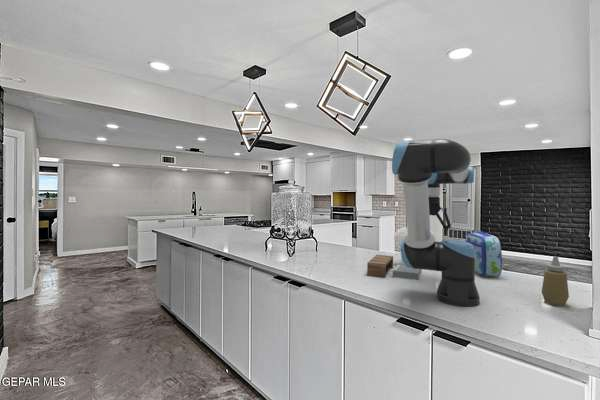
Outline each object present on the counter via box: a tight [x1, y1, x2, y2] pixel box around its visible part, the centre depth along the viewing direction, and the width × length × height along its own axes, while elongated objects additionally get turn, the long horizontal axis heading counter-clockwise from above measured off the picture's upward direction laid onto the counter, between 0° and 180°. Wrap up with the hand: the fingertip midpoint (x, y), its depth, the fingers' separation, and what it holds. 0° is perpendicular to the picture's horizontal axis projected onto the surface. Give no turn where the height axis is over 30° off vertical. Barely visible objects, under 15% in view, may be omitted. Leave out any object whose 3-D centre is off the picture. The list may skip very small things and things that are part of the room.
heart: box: [394, 226, 435, 252], centre depth 184 cm, size 28×16×22 cm, turn 131°
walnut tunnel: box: [366, 254, 394, 279], centre depth 167 cm, size 22×9×7 cm, turn 154°
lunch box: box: [465, 230, 503, 277], centre depth 165 cm, size 26×11×21 cm, turn 168°
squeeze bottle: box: [541, 255, 570, 307], centre depth 119 cm, size 8×8×18 cm
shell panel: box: [392, 264, 423, 281], centre depth 161 cm, size 15×12×4 cm
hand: (431, 241), depth 156 cm, fingers open, 10 cm apart
